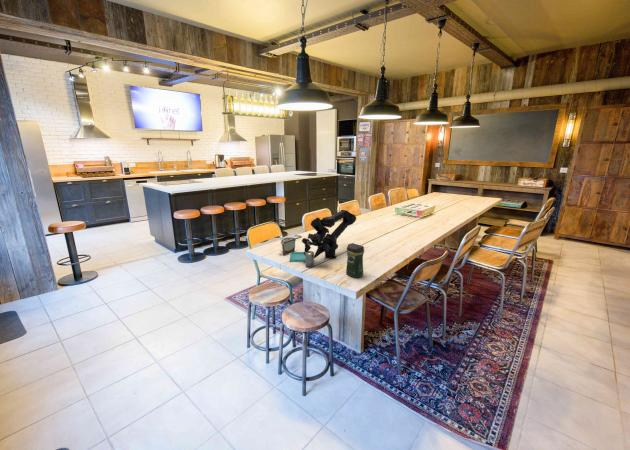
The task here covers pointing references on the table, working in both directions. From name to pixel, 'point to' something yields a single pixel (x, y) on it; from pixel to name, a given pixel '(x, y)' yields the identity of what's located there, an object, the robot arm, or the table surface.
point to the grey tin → (309, 259)
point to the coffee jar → (355, 260)
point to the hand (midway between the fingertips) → (309, 256)
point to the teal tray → (297, 257)
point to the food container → (288, 245)
